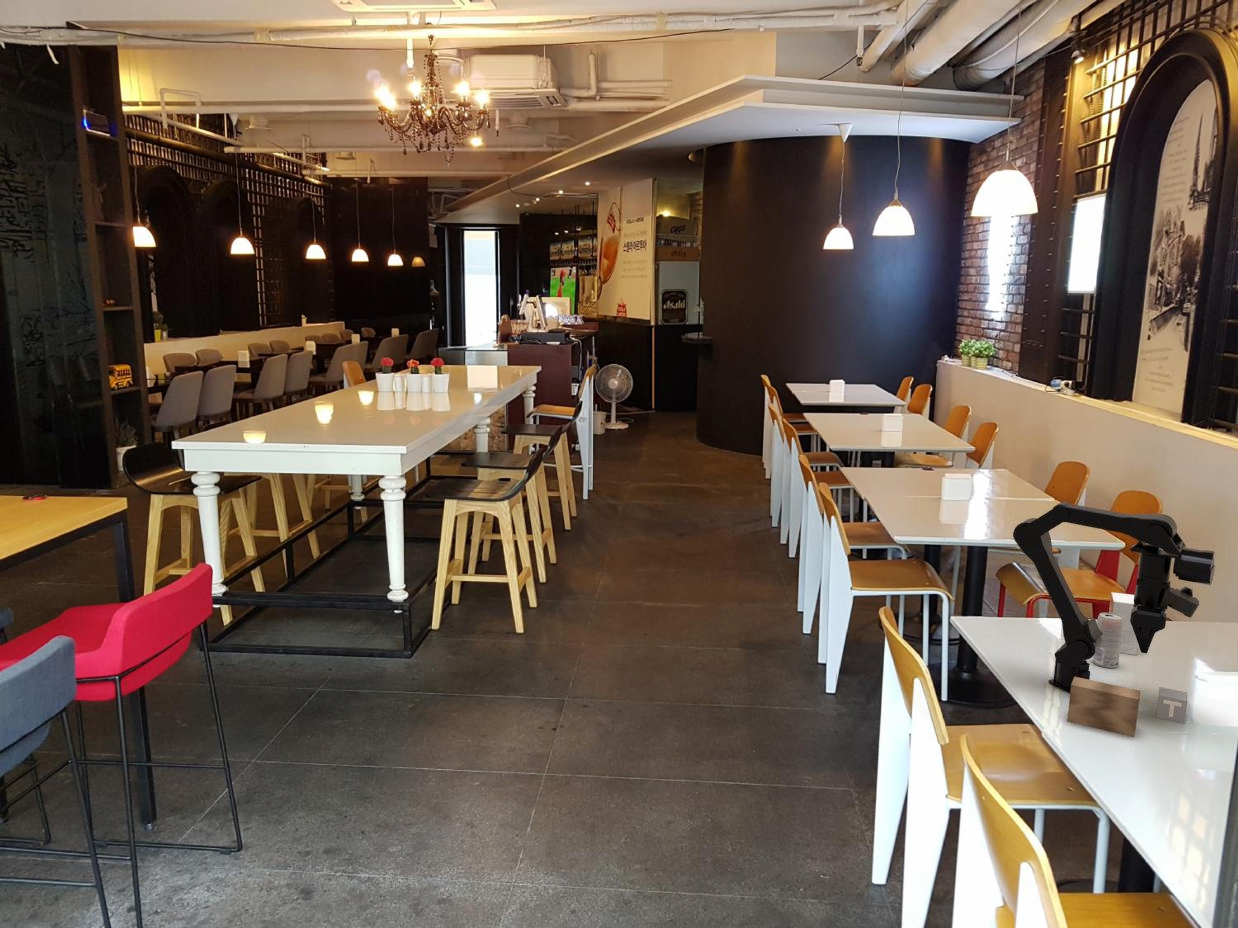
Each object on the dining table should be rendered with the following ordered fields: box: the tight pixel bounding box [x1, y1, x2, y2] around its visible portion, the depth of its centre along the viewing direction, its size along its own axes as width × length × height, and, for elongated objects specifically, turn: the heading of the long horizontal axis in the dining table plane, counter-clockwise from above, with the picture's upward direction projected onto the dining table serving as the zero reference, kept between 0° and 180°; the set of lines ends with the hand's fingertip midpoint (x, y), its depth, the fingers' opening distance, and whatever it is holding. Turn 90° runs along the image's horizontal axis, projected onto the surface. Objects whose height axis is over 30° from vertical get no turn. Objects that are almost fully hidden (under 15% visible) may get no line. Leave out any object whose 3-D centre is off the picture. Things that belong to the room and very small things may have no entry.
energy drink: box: [1092, 612, 1124, 669], centre depth 214 cm, size 5×5×12 cm
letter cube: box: [1155, 686, 1188, 724], centre depth 188 cm, size 5×5×5 cm
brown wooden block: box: [1066, 677, 1142, 738], centre depth 183 cm, size 12×5×8 cm, turn 57°
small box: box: [1108, 591, 1139, 656], centre depth 225 cm, size 8×6×13 cm
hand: (1144, 645), depth 192 cm, fingers open, 9 cm apart
